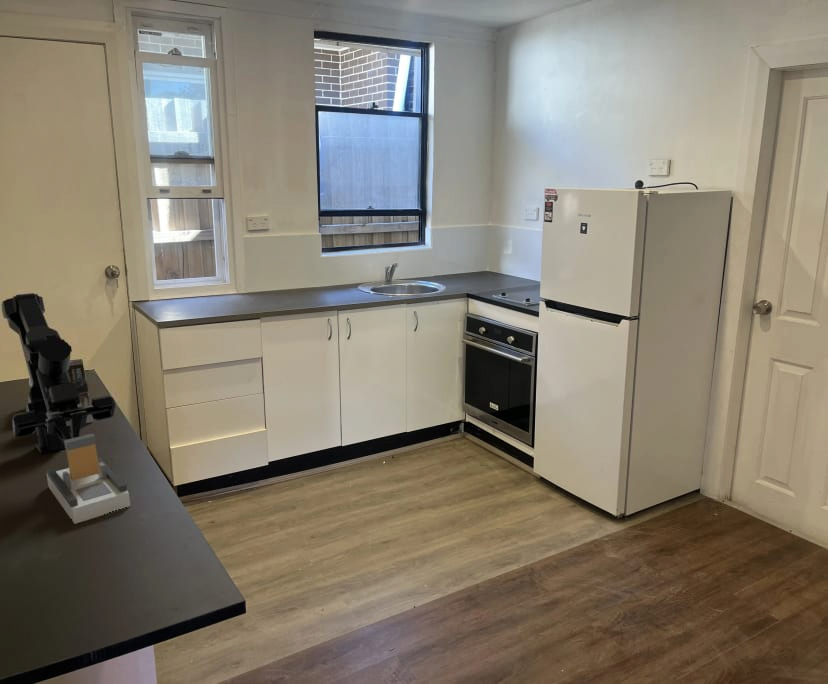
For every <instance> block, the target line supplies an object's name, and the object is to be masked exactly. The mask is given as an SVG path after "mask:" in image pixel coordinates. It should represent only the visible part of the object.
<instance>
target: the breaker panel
mask: <svg viewBox="0 0 828 684" xmlns="http://www.w3.org/2000/svg"><path fill="white" fill-rule="evenodd" d="M97 458H98V465H99V472H100V473H99V474H96V475H92V476H88V477H85V478H81V479H77V480H74V481H72V479H71V478H70V471H69V467H67V468H64V469H60V470H55V469H54V468H50V469H46V479H47V485H48V488H49V490H50V491H51V493H52V494H53V495H54V497H55V498H56V500H57V501H58V503H59V504H60V505H61V506H62V508H63V510H64V511H65V513H66V514H67V516H68V517H69V518H70V519H72V520H71V521H72V522H73V524H75V525H76V524H78V523H82V522H85V521H89V520H92V519H94V518H95V519H96V518H99V517H101V516H104V514H105V515H108V514H110V513H109V512H111V513H113V512H112V511H114V512H116V511H115V510H117V511H119V510H118V509H121V510H123V509H122V508H124V509H126V508H125V507H127V508H129V506H130V507H131V499H130V493H129V491H128V489H127V488H128V487H127V484H126V483H125V481H123V480H122V479H121V477H119V476H118V474H117V473H116V472H115V471H114V470H112V469H111V468H110V466H108V464H107V463H105V462H104V460H103V459H102V458H101V457H100V456H97ZM107 513H108V514H107Z"/></svg>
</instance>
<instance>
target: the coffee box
mask: <svg viewBox="0 0 828 684" xmlns="http://www.w3.org/2000/svg"><path fill="white" fill-rule="evenodd" d="M68 374H69V377H70V381H71V383H72V382H74V380H75V379H76V378H82V377H85V379H86V380H87V378H86V377H87V376H86V372H85V367H84V361H83V359H82V358H79V359H70V364H69V369H68ZM79 395H80V397H79V399H80V404H78V406H79V407H84V406H89V405H91V403H90V396H89V395H90V394H89V391H88V392H87V393H84V394H79ZM93 420H94V419H93V418H92V415H88V416H87V422H86V424H90V423H93V422H94V421H93ZM65 422H66V425H67V427H70V426H71V421H65Z"/></svg>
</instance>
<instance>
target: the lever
mask: <svg viewBox="0 0 828 684" xmlns="http://www.w3.org/2000/svg"><path fill="white" fill-rule="evenodd" d="M64 443H65V448H64V449H65V450H66V451H65V452H66V457H67V462H68V463H67V465H68V468H69V471H70V478H71V479H72V481H74V480H77V479H81V478H85V477H88V476H92V475H96V474H99V473H100V472H99V465H98V458H97V457H98V453H97V439H96V435H95V434H94V433H90V434H89V433H88V434H86V435H81V436H80V435H79V437H76V438H72V439H68V440H64Z"/></svg>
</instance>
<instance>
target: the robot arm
mask: <svg viewBox="0 0 828 684" xmlns="http://www.w3.org/2000/svg"><path fill="white" fill-rule="evenodd" d="M1 312H2V316H3V319H6V322H7V323H8V328H10V329H11V330H12V331H14V332H15V333H16V334H17V335H18V336H19V340H20V344H21V348H22V352H23V356H24V360H25V362H26V363H25V364H26V367H27V371H28V375H29V378H30V379H31V383H32V387H31V386H30V387H31V388H30V390H29V393H28V401H27V402H28V403H26V410H25V411H23V412H18V413H14V414H13V416H12V431H13V436H14V438H15V439H16V438H17V439H19V438H25V437H29V436H33V435H34V434H35V432H36V434H37V435H36V436H37V441H38V443H36V444H34V446H35V447H36V449H37V450H38V452H39V453H40V454H46V453H49V452H54V451H59V450H63V449H66V448H65V443H64V440H68V439H72V438H76V437H80V433H81V429H82V428H85V427H87V423H86V422H87V416H88V415H92V420H95V421H102V420H106V419H111V418H112V417H114V413H115V408H116V402H115V399H114V397H113V396H111V395H103V396H99V397H94V398H93V397H92V399H91V403H90V405H89V406H84V407H79V406H78V404H80V399H79V397H80V395H79V394H84V393H87V392H88V393H89V386H88V381H87V378H86V379H85V377H86V376H85V377H82V378H76V379H75V380H74V382H72V383H71V381H70V377H69V374H68V369H69V364H70V360H71V355H72V354H71V353H72V352H73V350H72V346H71V345H70V344H69V343H68V342H67V341H65V339H64V338H61V335H60V333H59V332H58V330H56V329H54V328H51V327H49V324H48V322H47V319H46V317H45V315H44V314H45V312H46V309H45V303H44V299H43V296H40V295H39V294H38V293H34V292H29V293H23V294H22V293H21V294H16V295H13V296H12V297H11V298H6V299H5V300H2V303H1ZM65 421H71V426H69V427H70V428H68V426H67V425H66V422H65ZM69 429H70V430H69Z"/></svg>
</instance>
